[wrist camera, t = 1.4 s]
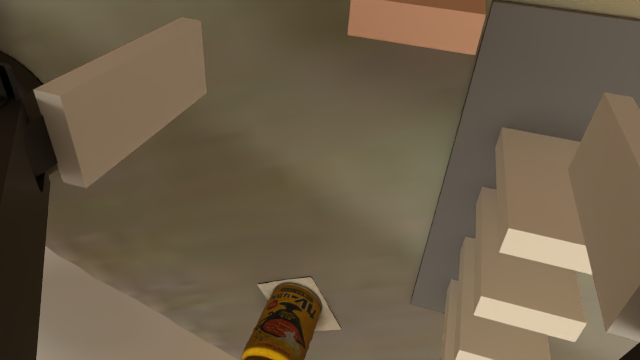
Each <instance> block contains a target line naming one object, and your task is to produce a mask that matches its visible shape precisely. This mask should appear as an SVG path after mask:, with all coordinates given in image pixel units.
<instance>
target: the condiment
mask: <svg viewBox="0 0 640 360" xmlns="http://www.w3.org/2000/svg"><path fill="white" fill-rule="evenodd" d="M257 285H258V287H259V288H260V290H261V291H262V292H263V294H264V295H265V297H266V299H267V300H268V302H267V305H266V306H265V308H264V310H263V312H262V315H261V317H260V318H259V320H258V323H257V325H256V327H255V328H254V330H253V333H252V335H251V337H250V339H249V341H248V342H247V344H246V347H245V349H244V352H243V355H242V360H304V359H305V356H306V353H307V350H308V348H309V344H310V341H311V340H312V337H313V333H314V331H318V330H322V331H324V330H340V329H341V328H340V326H339V325H338V323H337V321H336V319H335V318H334V316H333V314H332V313H331V311H330V309H329V307H328V305H327V303H326V301H325V299H324V298H323V296H322V294H321V293H320V291H319V289H318V287H317V286H316V284H315V282H314V281H313V279H312V278H311V277H307V278H299V279H289V280H282V281H275V282H269V283H264V284H257ZM319 315H320V317H319ZM318 318H319V319H318Z"/></svg>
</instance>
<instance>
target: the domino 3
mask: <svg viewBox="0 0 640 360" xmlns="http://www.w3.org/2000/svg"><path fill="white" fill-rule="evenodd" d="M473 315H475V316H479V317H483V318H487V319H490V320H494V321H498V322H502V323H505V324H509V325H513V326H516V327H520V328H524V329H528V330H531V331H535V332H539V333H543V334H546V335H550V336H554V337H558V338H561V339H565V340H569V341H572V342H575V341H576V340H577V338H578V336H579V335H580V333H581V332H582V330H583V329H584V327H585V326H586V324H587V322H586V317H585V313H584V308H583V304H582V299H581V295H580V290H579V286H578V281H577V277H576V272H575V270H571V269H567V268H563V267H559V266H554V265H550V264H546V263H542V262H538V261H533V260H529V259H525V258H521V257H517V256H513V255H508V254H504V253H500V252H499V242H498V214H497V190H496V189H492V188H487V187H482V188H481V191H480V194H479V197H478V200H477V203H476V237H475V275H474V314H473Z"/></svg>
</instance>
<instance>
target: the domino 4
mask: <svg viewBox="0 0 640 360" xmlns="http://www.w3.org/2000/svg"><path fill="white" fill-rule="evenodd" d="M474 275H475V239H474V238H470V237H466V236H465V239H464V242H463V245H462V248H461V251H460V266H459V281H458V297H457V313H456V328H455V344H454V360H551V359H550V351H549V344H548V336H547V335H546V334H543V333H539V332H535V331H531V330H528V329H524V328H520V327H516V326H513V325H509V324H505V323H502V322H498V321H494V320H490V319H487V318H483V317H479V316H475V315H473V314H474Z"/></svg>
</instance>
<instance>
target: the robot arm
mask: <svg viewBox="0 0 640 360" xmlns="http://www.w3.org/2000/svg"><path fill="white" fill-rule="evenodd" d="M206 93H207V90H206V78H205V66H204V53H203V41H202V28H201V21H200V20H195V19H189V18H183V17H181V18H179V19H177V20H175V21H173V22H170V23H168V24H166V25H164V26H162V27H160V28H158V29H156V30H154V31H152V32H150V33H148V34H146V35H144V36H142V37H140V38H138V39H136V40H134V41H132V42H130V43H128V44H126V45H123V46H121V47H119V48H117V49H115V50H113V51H111V52H109V53H107V54H105V55H103V56H101V57H99V58H97V59H95V60H93V61H91V62H89V63H87V64H85V65H83V66H81V67H78V68H76V69H74V70H72V71H70V72H68V73H66V74H64V75H62V76H60V77H58V78H56V79H54V80H52V81H50V82H48V83H46V84H44V85H41V83H40V82H39V81H38V80H37V79H36V78H35V77H34V76H33V75H32V74H31V73H30V72H29V71H27V70H26V69H25V68H24V67H23V66H22V65H20V64H19V63H18V62H16V61H15V60H13V59H12V58H10V57H8V56H7V55H5V54H3V53H1V52H0V360H36V355H37V341H38V329H39V316H40V304H41V292H42V279H43V265H44V254H45V241H46V229H47V216H48V203H49V191H50V181H49V178H48V175H50V174H51V173H53V172H54V171H56V170H57V169H59V172H60V175H61V178H62V181H63V182H65V183H68V184H72V185H76V186H79V187H83V188H87V187H89V186H90V185H91V184H92V183H94V182H95V181H96V180H98V179H99V178H100V177H101V176H103V175H104V174H105V173H106V172H108V171H109V170H110V169H111V168H113V167H114V166H115V165H116V164H118V163H119V162H120V161H121V160H123V159H124V158H125V157H126V156H128V155H129V154H130V153H132V152H133V151H134V150H135V149H137V148H138V147H139V146H140V145H142V144H143V143H144V142H145V141H147V140H148V139H149V138H150V137H152V136H153V135H154V134H155V133H157V132H158V131H159V130H161V129H162V128H163V127H164V126H166V125H167V124H168V123H169V122H171V121H172V120H173V119H174V118H176V117H177V116H178V115H179V114H181V113H182V112H183V111H184V110H186V109H187V108H188V107H189V106H191V105H192V104H193V103H195V102H196V101H197V100H198V99H200V98H201V97H202V96H203V95H205V94H206ZM568 173H569V177H570V181H571V186H572V190H573V194H574V198H575V203H576V207H577V211H578V215H579V220H580V224H581V228H582V232H583V237H584V241H585V245H586V249H587V254H588V258H589V262H590V266H591V270H592V275H593V279H594V283H595V287H596V292H597V296H598V300H599V304H600V309H601V313H602V317H603V321H604V326H605V330H606V332H607V333H610V334H614V335H618V336H621V337H625V338H628V339H632V340H636V341H639V342H640V109H639V107H638V105H637V104H636V102H635V100H634V99H633V97H629V96H623V95H617V94H612V93H606V92H604V93H603V96H602V98H601V100H600V102H599V104H598V106H597V108H596V110H595V113H594V115H593V117H592V119H591V121H590V123H589V125H588V127H587V130H586V132H585V134H584V136H583V138H582V140H581V142H580V145H579V147H578V149H577V151H576V153H575V155H574V157H573V159H572V162H571V164H570V166H569V168H568ZM619 360H640V343H639V344H637V345H636V346H635V347H634V348H632V349H631V350H630V351H629V352H628V353H626V354H625V355H624V356H623V357H622V358H620V359H619Z"/></svg>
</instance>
